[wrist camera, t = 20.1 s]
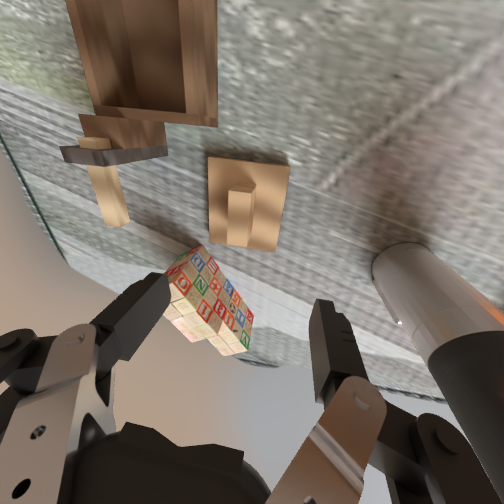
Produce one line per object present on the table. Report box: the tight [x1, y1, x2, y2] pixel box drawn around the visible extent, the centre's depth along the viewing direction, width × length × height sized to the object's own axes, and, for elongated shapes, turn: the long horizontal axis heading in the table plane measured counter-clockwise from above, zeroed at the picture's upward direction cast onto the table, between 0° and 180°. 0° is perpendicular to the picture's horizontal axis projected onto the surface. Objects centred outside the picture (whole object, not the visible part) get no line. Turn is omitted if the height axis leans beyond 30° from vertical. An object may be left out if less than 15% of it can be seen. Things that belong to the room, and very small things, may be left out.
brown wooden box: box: [59, 0, 218, 167], centre depth 21 cm, size 18×13×13 cm
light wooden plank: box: [77, 137, 130, 227], centre depth 24 cm, size 10×2×2 cm, turn 175°
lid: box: [208, 156, 291, 252], centre depth 31 cm, size 14×12×8 cm
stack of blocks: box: [163, 245, 254, 356], centre depth 39 cm, size 21×6×12 cm, turn 30°
